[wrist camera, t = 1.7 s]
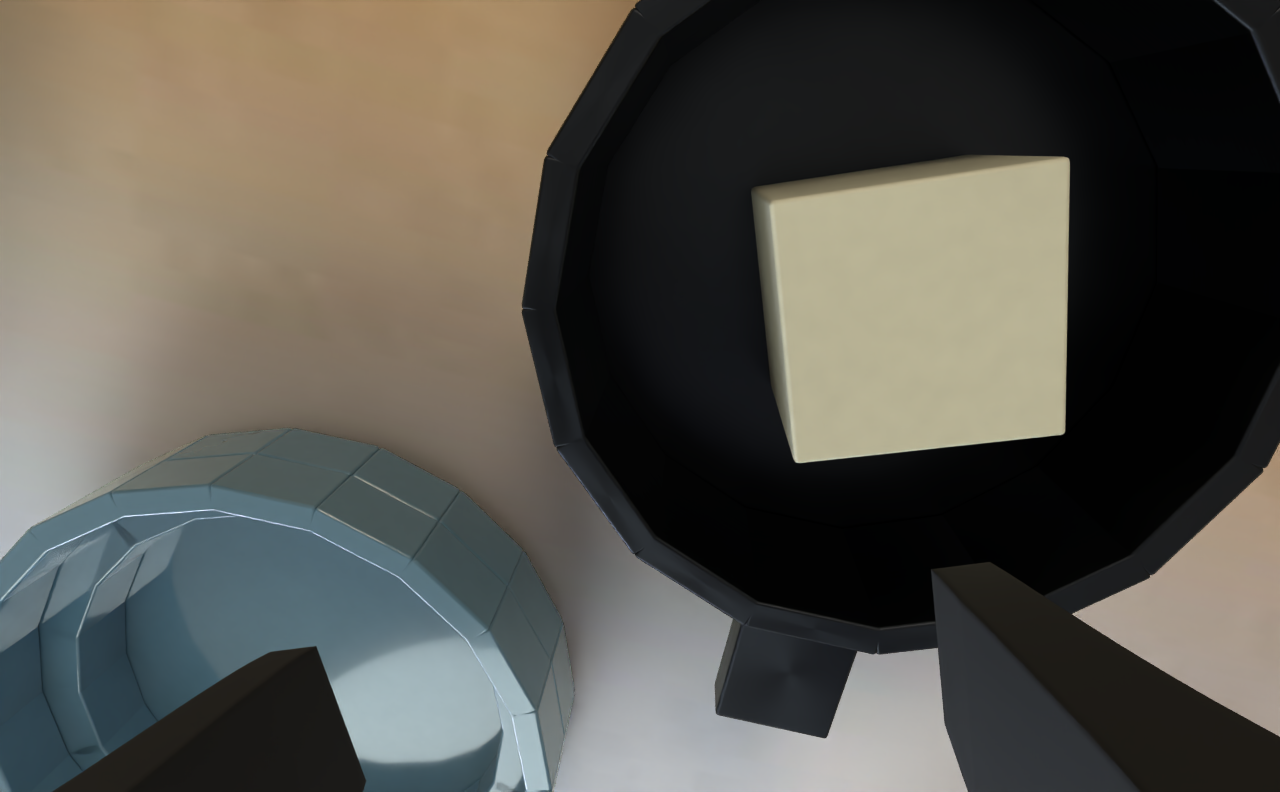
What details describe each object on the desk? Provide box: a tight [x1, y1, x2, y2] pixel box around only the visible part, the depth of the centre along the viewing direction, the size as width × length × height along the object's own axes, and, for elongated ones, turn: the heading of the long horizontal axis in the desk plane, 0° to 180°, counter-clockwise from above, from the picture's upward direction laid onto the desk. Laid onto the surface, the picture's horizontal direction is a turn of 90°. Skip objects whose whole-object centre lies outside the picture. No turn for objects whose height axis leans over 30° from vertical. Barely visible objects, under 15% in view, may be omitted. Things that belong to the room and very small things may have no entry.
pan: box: [522, 0, 1280, 738], centre depth 14 cm, size 13×18×4 cm
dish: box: [0, 428, 575, 792], centre depth 19 cm, size 14×14×4 cm
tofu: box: [751, 155, 1070, 463], centre depth 14 cm, size 4×4×4 cm
